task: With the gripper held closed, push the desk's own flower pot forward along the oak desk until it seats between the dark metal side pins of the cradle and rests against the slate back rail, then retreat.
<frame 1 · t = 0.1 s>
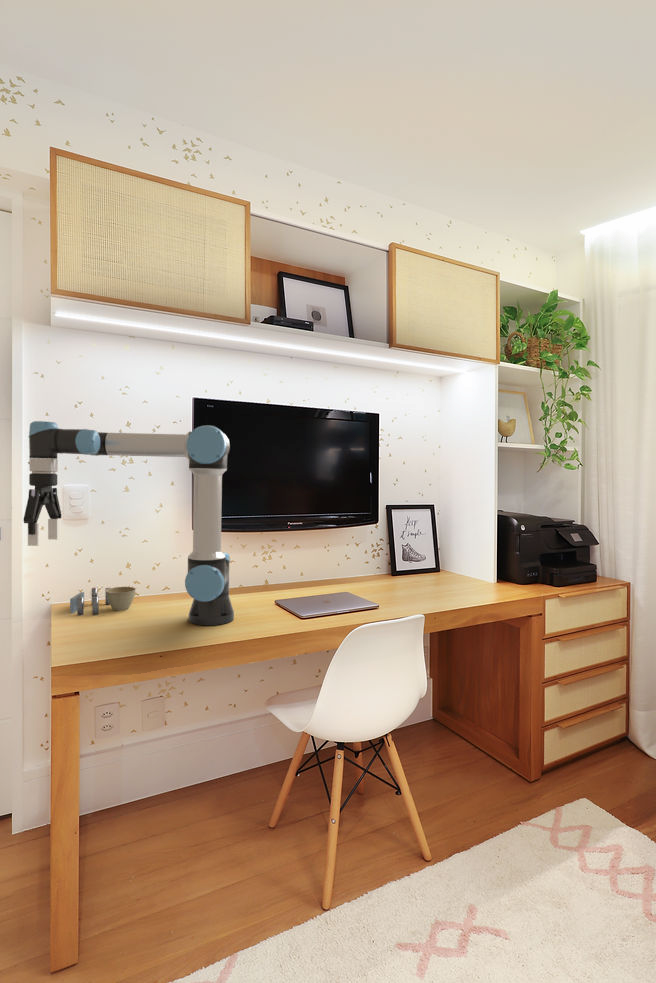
hand: (43, 542, 160), 28 cm above the table, fingers open, 13 cm apart
pin cradle: (94, 609, 189), on the table
flower pot: (120, 609, 190), on the table
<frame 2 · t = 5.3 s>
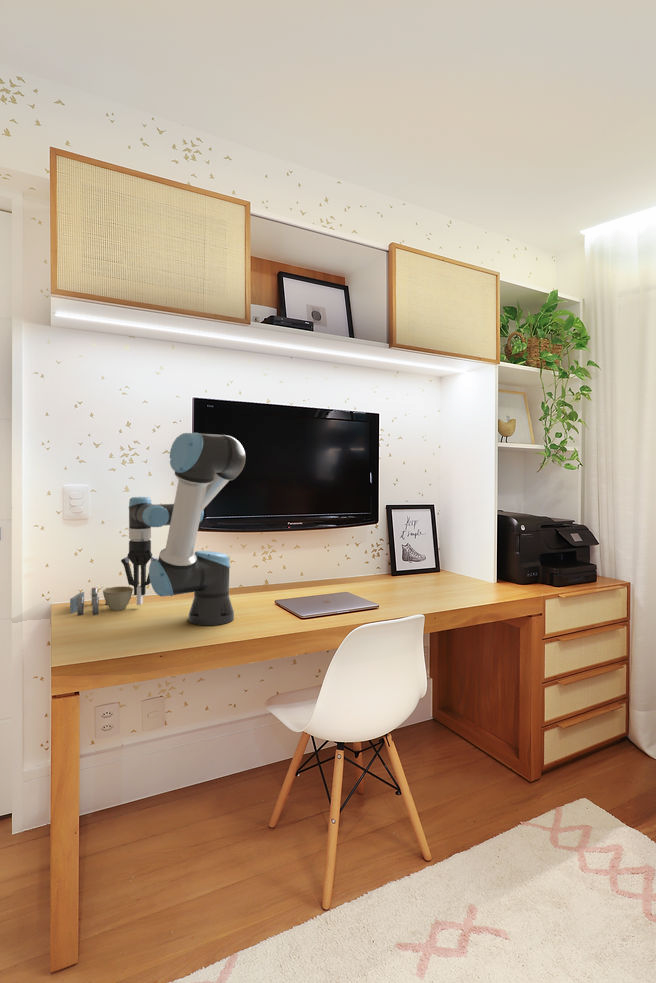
hand: (139, 603, 191), 2 cm above the table, fingers closed
flower pot: (117, 609, 190), on the table, touching gripper
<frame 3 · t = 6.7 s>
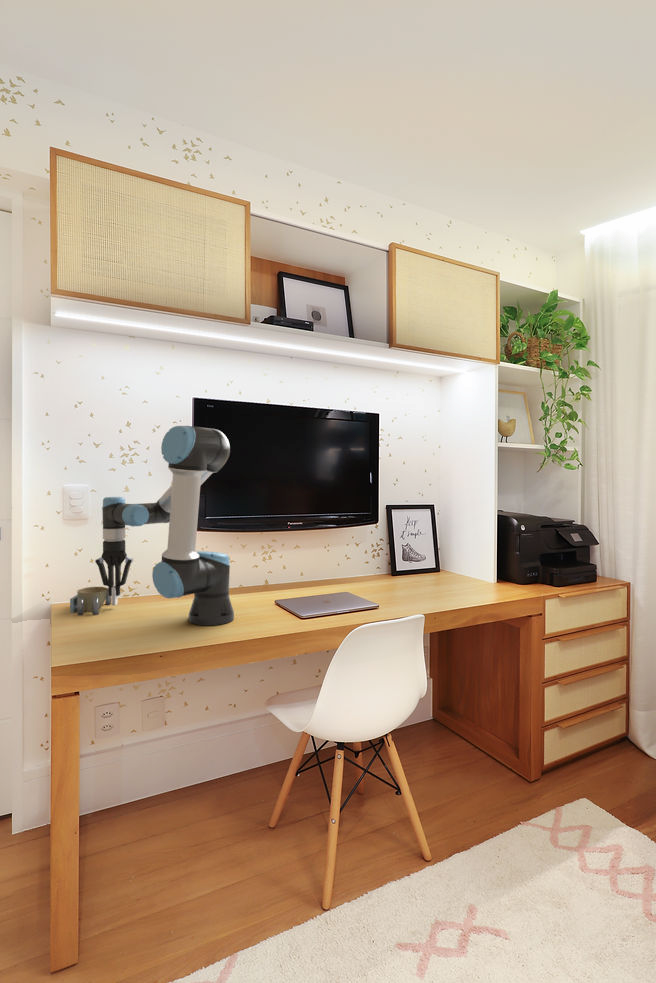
hand: (114, 604, 190), 2 cm above the table, fingers closed
flower pot: (92, 609, 189), on the table, touching gripper, pin cradle
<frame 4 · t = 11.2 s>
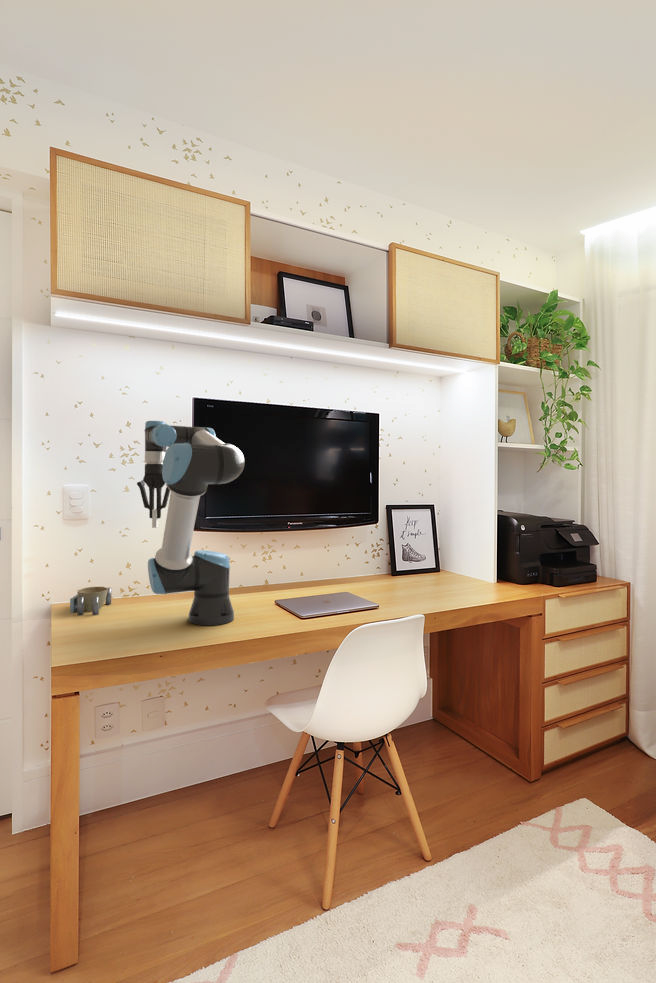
hand: (155, 527, 194), 29 cm above the table, fingers closed
flower pot: (92, 609, 189), on the table
at the end: flower pot inside the target area (0.0 cm from its centre), on the table; flower pot tilted 0°; flower pot moved 9.8 cm from its start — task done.
